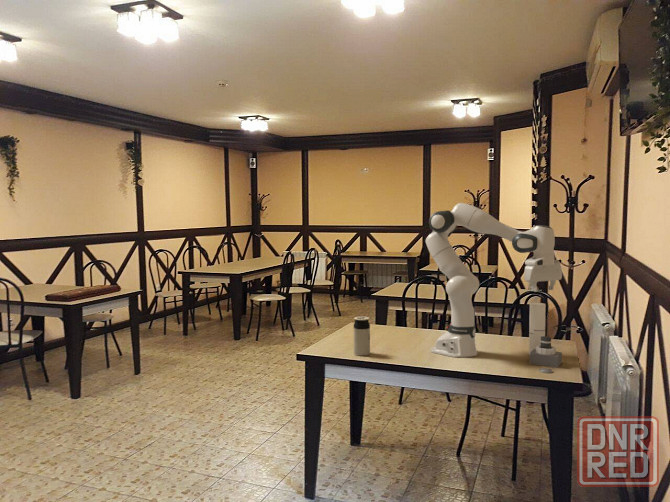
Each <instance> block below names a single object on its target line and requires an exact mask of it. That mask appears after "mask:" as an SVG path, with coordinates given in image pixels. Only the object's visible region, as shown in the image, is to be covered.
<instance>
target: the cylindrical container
mask: <svg viewBox="0 0 670 502" xmlns="http://www.w3.org/2000/svg"><path fill="white" fill-rule="evenodd" d="M546 310H547V309H546V303H542V302H530V303H529V318H528V319H529V321H528V322H529V323H528V324H529V325H528V326H529V328H528V329H529V331H528V333H529V334H528V337H529V338H528V355H529V356H530V352H531V351H533V350H534V349H535V348H536V346H537V345H541V337H542V336H546Z"/></svg>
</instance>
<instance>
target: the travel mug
mask: <svg viewBox="0 0 670 502" xmlns="http://www.w3.org/2000/svg"><path fill="white" fill-rule="evenodd" d="M353 319H354V323H353V355H356V356H358V357H362V356H363V357H365V356H368V355H370V354H371V324H370V322H369V320H370V317H368V316H355V317H353Z"/></svg>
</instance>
